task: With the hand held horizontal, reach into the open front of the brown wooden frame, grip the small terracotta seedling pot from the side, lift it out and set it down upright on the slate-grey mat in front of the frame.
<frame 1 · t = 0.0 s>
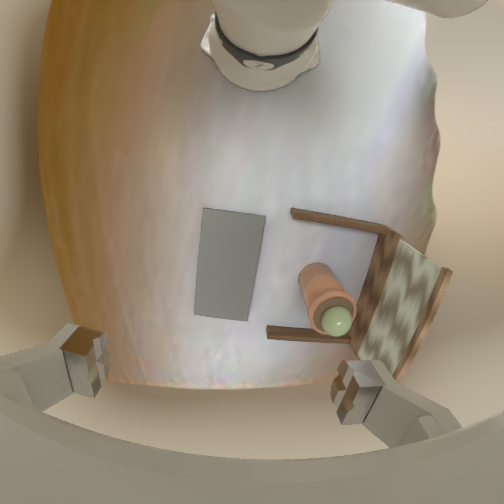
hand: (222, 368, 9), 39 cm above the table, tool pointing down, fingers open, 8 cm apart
potting mat: (226, 268, 50), on the table
brown wooden frame: (325, 280, 52), on the table
seedling pot: (315, 278, 51), on the table
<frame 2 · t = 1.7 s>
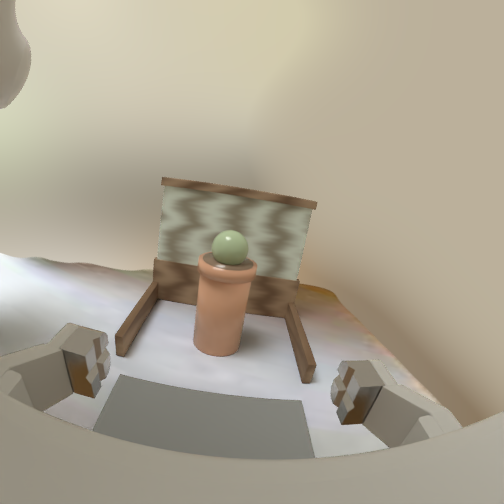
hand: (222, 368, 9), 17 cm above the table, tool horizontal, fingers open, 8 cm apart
potting mat: (205, 431, 23), on the table
brown wooden frame: (217, 334, 40), on the table
seedling pot: (216, 342, 39), on the table
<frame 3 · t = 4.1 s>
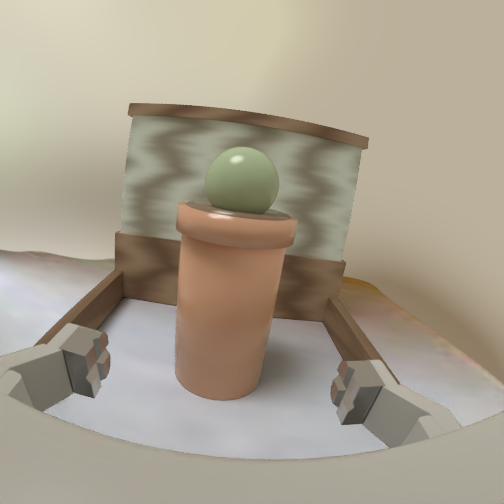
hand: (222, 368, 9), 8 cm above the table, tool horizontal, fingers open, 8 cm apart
brown wooden frame: (218, 356, 22), on the table
seedling pot: (217, 371, 20), on the table
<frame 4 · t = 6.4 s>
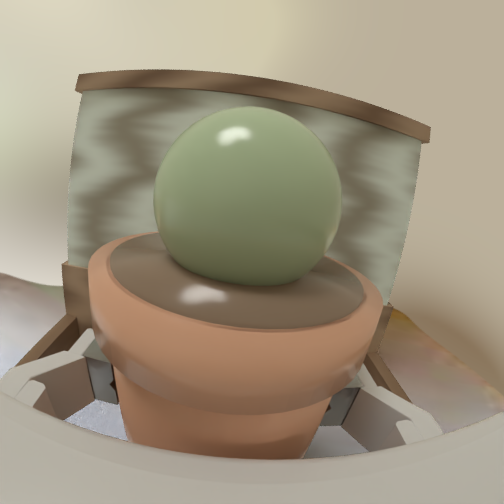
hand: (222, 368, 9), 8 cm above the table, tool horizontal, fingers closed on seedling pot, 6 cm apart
brown wooden frame: (210, 463, 12), on the table
seedling pot: (208, 492, 10), on the table, touching gripper
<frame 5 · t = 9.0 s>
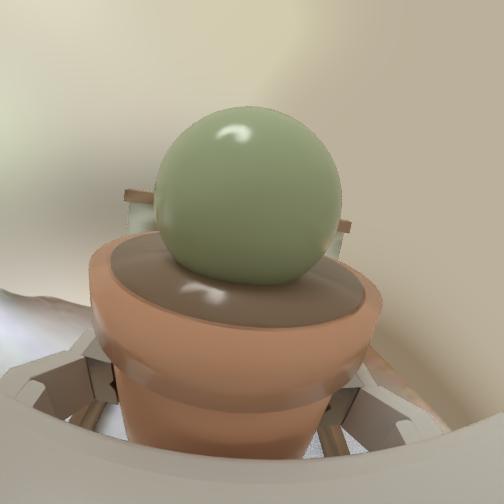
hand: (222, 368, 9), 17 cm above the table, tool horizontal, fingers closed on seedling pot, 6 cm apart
brown wooden frame: (211, 413, 26), on the table
seedling pot: (208, 491, 10), point 9 cm above the table, touching gripper
when the fingers open (10 cm above the table, at t = 11.5 s): seedling pot drops 1 cm, resting on potting mat.
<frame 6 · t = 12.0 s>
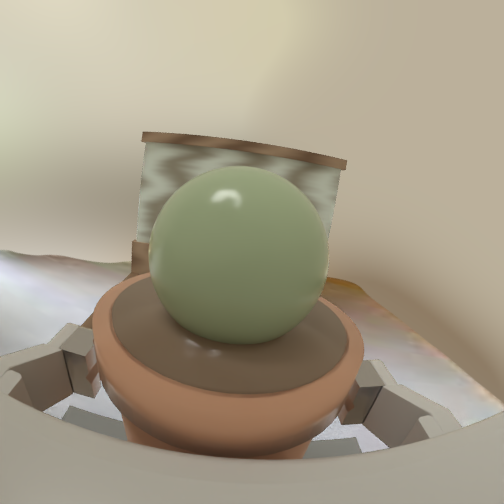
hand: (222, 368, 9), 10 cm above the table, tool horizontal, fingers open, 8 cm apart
brown wooden frame: (219, 342, 28), on the table
seedling pot: (207, 501, 11), point 1 cm above the table, touching potting mat
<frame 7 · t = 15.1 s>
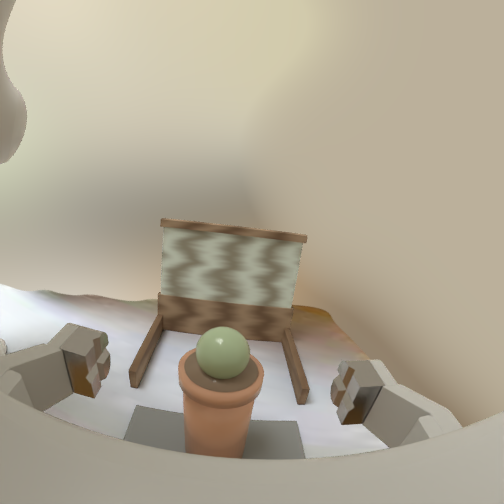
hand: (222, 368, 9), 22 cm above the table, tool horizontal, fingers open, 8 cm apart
potting mat: (213, 451, 26), on the table
brown wooden frame: (220, 362, 43), on the table
seedling pot: (214, 448, 26), point 1 cm above the table, touching potting mat
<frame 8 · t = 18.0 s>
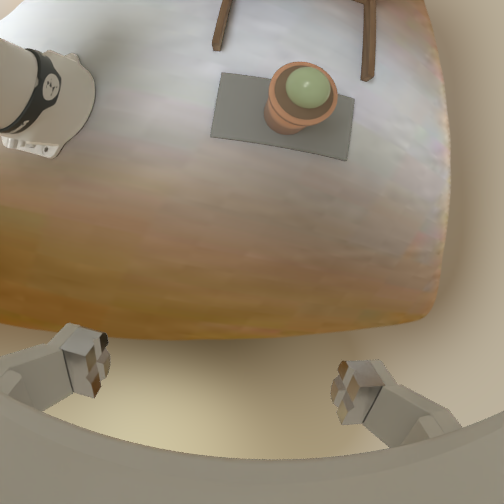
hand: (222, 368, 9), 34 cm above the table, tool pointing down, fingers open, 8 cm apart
potting mat: (285, 114, 38), on the table
brown wooden frame: (299, 18, 34), on the table
seedling pot: (286, 113, 37), point 1 cm above the table, touching potting mat
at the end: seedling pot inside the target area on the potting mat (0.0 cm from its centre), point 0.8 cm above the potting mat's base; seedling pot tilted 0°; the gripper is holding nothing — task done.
